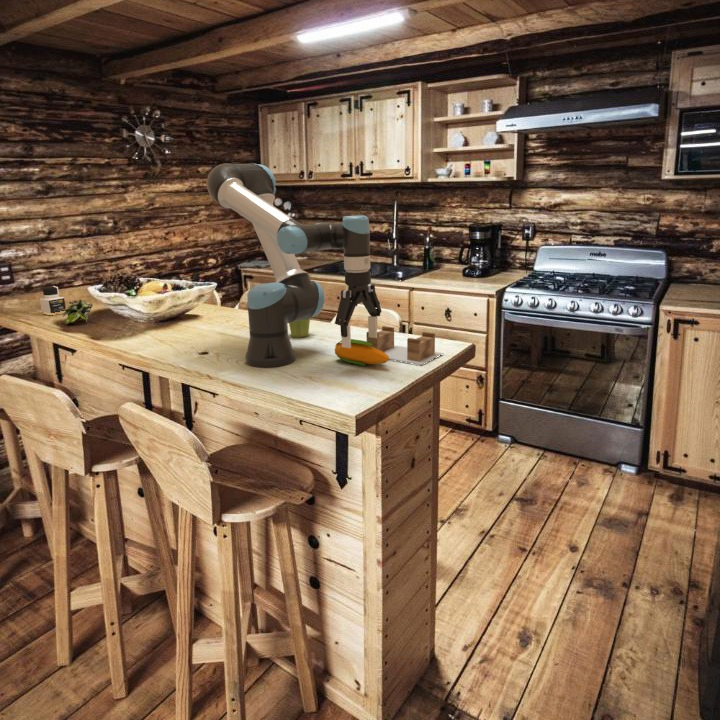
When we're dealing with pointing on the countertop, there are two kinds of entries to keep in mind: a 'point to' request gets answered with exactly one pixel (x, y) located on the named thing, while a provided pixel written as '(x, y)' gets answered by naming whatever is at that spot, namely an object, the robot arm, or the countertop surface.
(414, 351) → the wooden brackets on board
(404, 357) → the mat
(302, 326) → the plant pot
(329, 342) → the countertop surface
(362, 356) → the corn
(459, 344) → the countertop surface
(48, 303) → the medicine bottle
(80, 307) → the leafy green plant
